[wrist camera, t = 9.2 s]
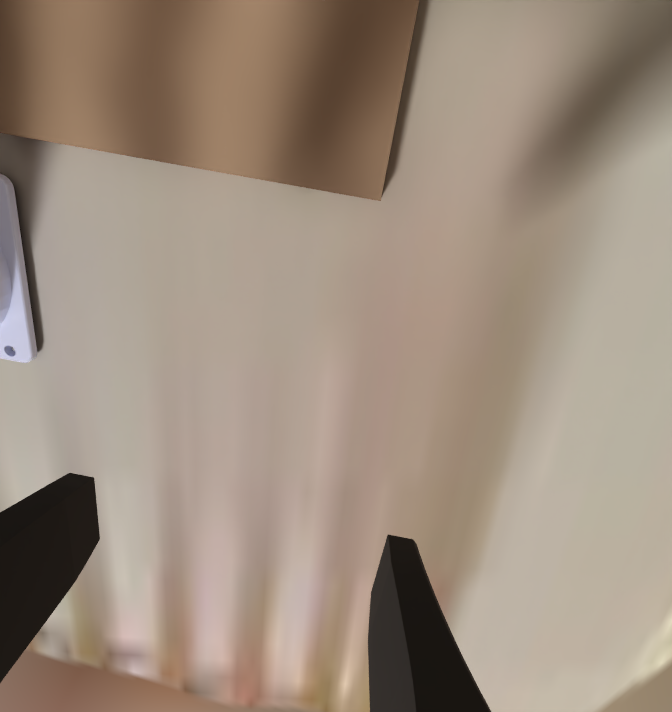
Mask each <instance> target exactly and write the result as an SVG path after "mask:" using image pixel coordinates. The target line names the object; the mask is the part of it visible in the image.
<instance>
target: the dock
mask: <svg viewBox="0 0 672 712" xmlns="http://www.w3.org/2000/svg"><path fill="white" fill-rule="evenodd" d="M418 5H419V0H0V133H4V134H10V135H15V136H21V137H26V138H32V139H38V140H43V141H49V142H54V143H60V144H65V145H71V146H77V147H82V148H88V149H93V150H99V151H105V152H110V153H116V154H121V155H127V156H132V157H138V158H144V159H149V160H155V161H160V162H166V163H172V164H177V165H183V166H188V167H194V168H199V169H205V170H211V171H216V172H222V173H227V174H233V175H239V176H244V177H250V178H255V179H261V180H266V181H272V182H278V183H283V184H289V185H294V186H300V187H306V188H311V189H317V190H322V191H328V192H333V193H339V194H345V195H350V196H356V197H361V198H367V199H372V200H378V201H381V196H382V191H383V186H384V181H385V176H386V171H387V165H388V160H389V155H390V150H391V145H392V139H393V134H394V129H395V124H396V119H397V114H398V108H399V103H400V98H401V93H402V88H403V82H404V77H405V72H406V67H407V62H408V57H409V51H410V46H411V41H412V36H413V31H414V25H415V20H416V15H417V10H418Z"/></svg>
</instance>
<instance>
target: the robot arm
mask: <svg viewBox="0 0 672 712" xmlns="http://www.w3.org/2000/svg"><path fill="white" fill-rule="evenodd" d="M11 347H13V348H14V349H15V352H14V351H13V350H12V348H11ZM36 356H37V347H36V340H35V333H34V326H33V319H32V312H31V304H30V297H29V290H28V283H27V276H26V269H25V262H24V255H23V248H22V241H21V234H20V226H19V219H18V212H17V205H16V198H15V191H14V187H13V184H12V183H11V181H10V180H9V179H8V178H7V177H6V176H5V175H2V174H0V358H2V359H7V360H12V361H18V362H23V363H27V362H29V361H31V360H33V359H35V358H36ZM99 540H100V536H99V525H98V515H97V504H96V493H95V483H94V478H93V477H88V476H83V475H78V474H73V473H69V474H67V475H65V476H63V477H61V478H59V479H58V480H56V481H54V482H52V483H51V484H49V485H47V486H45V487H44V488H42V489H40V490H38V491H37V492H35V493H33V494H32V495H30V496H28V497H26V498H25V499H23V500H21V501H19V502H18V503H16V504H14V505H13V506H11V507H9V508H7V509H6V510H4V511H2V512H0V683H1V681H2V680H3V678H4V677H5V676H6V674H7V673H8V671H9V670H10V669H11V668H12V666H13V665H14V664H15V662H16V661H17V660H18V658H19V657H20V656H21V654H22V653H23V651H24V650H25V649H26V648H27V646H28V645H29V643H30V642H31V641H32V639H33V638H34V637H35V635H36V634H37V633H38V631H39V630H40V629H41V627H42V626H43V625H44V623H45V622H46V621H47V619H48V618H49V617H50V615H51V614H52V613H53V611H54V610H55V608H56V607H57V606H58V604H59V603H60V602H61V600H62V599H63V598H64V596H65V595H66V593H67V592H68V591H69V589H70V588H71V587H72V585H73V584H74V582H75V581H76V579H77V578H78V576H79V574H80V573H81V571H82V569H83V568H84V566H85V564H86V563H87V561H88V559H89V557H90V556H91V554H92V552H93V550H94V548H95V547H96V545H97V543H98V541H99ZM368 656H369V691H370V712H491V710H490V709H489V707H488V705H487V703H486V701H485V699H484V697H483V696H482V694H481V692H480V690H479V688H478V686H477V684H476V682H475V680H474V678H473V676H472V674H471V672H470V670H469V668H468V666H467V664H466V662H465V660H464V658H463V656H462V654H461V652H460V650H459V648H458V646H457V644H456V642H455V639H454V637H453V635H452V633H451V631H450V628H449V626H448V624H447V622H446V619H445V617H444V615H443V613H442V610H441V608H440V606H439V603H438V601H437V599H436V596H435V594H434V591H433V589H432V586H431V584H430V581H429V578H428V576H427V573H426V570H425V568H424V565H423V562H422V559H421V556H420V554H419V551H418V547H417V544H416V543H415V541H414V540H413V539H408V538H403V537H397V536H392V535H388V536H387V539H386V543H385V546H384V550H383V553H382V557H381V560H380V564H379V567H378V571H377V574H376V578H375V581H374V585H373V588H372V591H371V603H370V617H369V633H368Z"/></svg>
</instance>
